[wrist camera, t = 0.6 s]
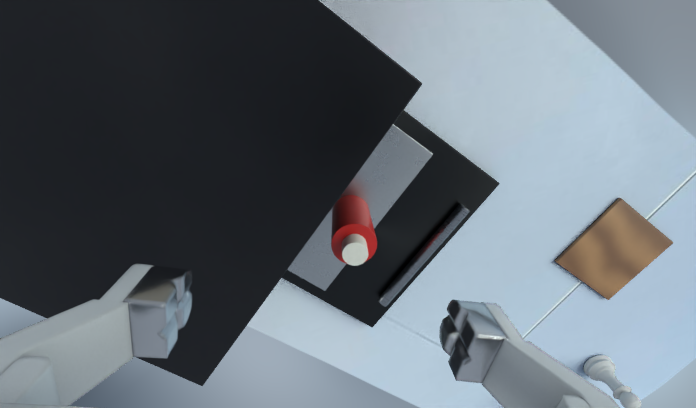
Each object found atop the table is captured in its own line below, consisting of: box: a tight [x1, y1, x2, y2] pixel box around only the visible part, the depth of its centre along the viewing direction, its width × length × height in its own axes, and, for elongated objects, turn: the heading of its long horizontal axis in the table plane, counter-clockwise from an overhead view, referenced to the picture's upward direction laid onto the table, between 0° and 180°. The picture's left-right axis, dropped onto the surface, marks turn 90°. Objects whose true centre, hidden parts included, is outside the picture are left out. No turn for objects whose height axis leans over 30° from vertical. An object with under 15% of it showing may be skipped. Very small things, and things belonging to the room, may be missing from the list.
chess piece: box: [584, 355, 641, 408], centre depth 52 cm, size 5×5×8 cm
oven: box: [0, 0, 500, 386], centre depth 33 cm, size 42×30×20 cm
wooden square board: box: [555, 198, 673, 300], centre depth 48 cm, size 12×12×1 cm
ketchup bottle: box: [331, 195, 377, 266], centre depth 37 cm, size 5×5×11 cm
